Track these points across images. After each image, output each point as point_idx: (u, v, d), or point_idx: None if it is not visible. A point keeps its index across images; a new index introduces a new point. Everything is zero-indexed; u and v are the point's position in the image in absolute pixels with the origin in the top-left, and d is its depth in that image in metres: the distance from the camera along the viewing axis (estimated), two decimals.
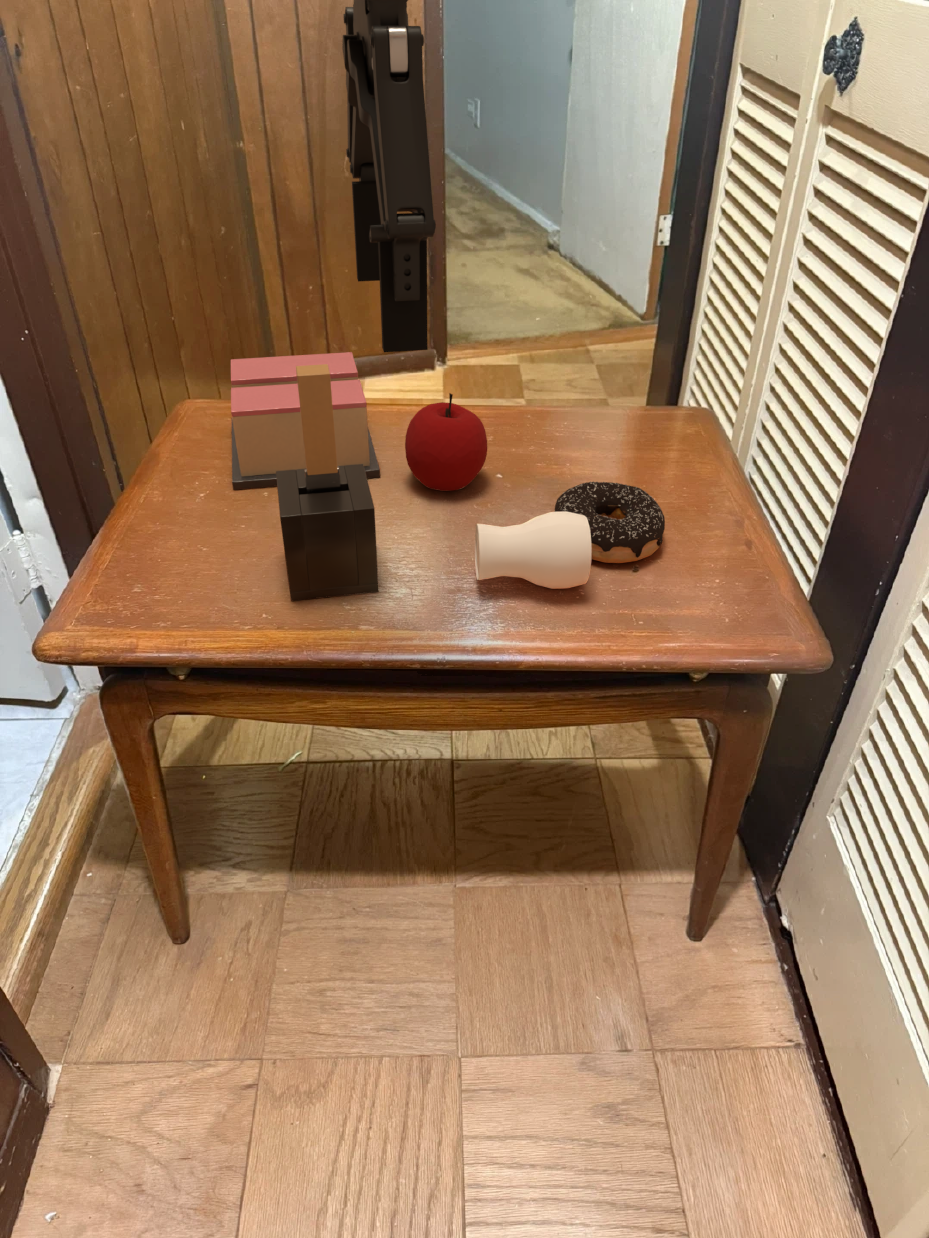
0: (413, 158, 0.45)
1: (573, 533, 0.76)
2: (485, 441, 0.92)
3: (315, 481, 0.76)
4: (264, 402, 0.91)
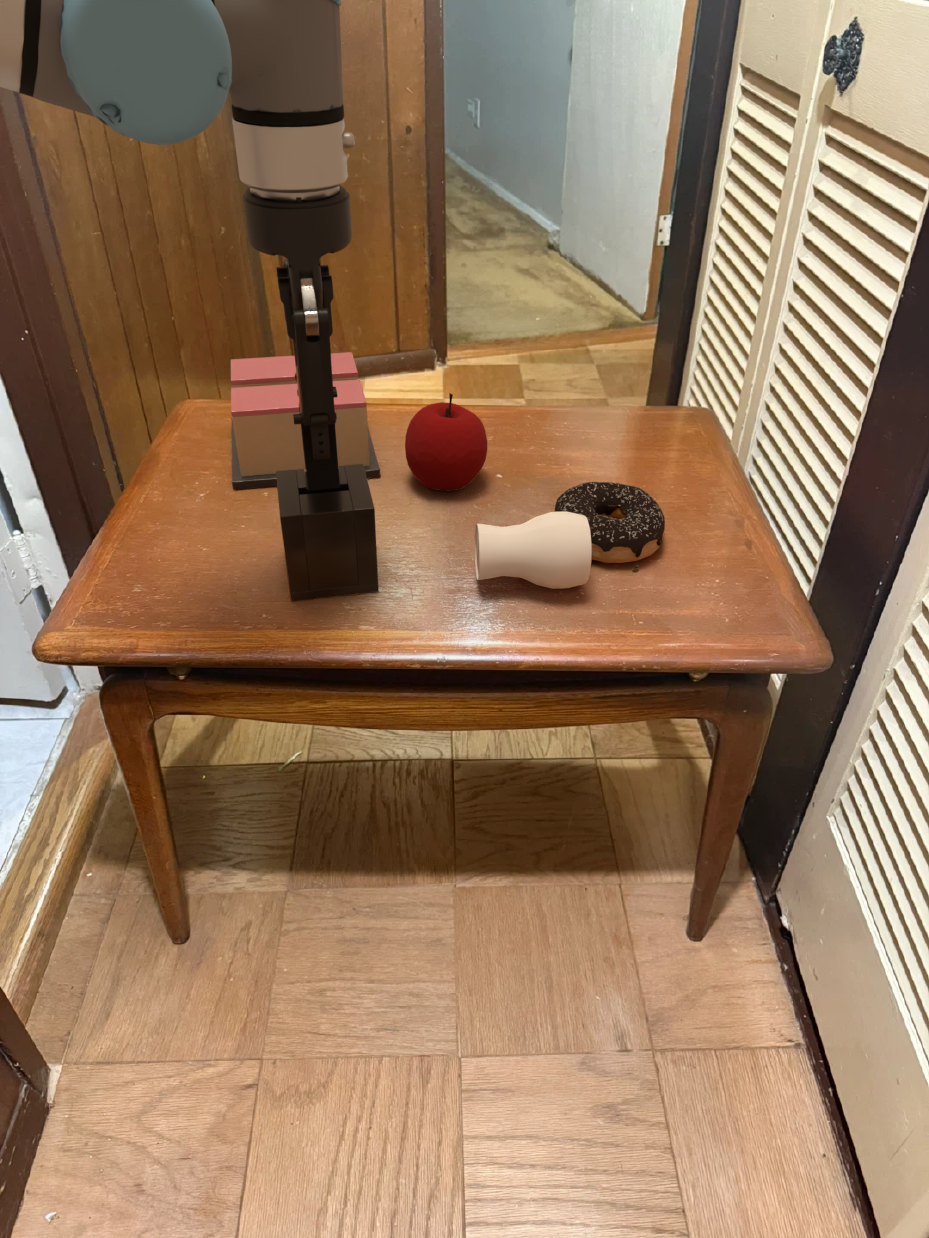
0: (322, 385, 0.65)
1: (573, 533, 0.76)
2: (485, 441, 0.92)
3: None
4: (264, 402, 0.91)
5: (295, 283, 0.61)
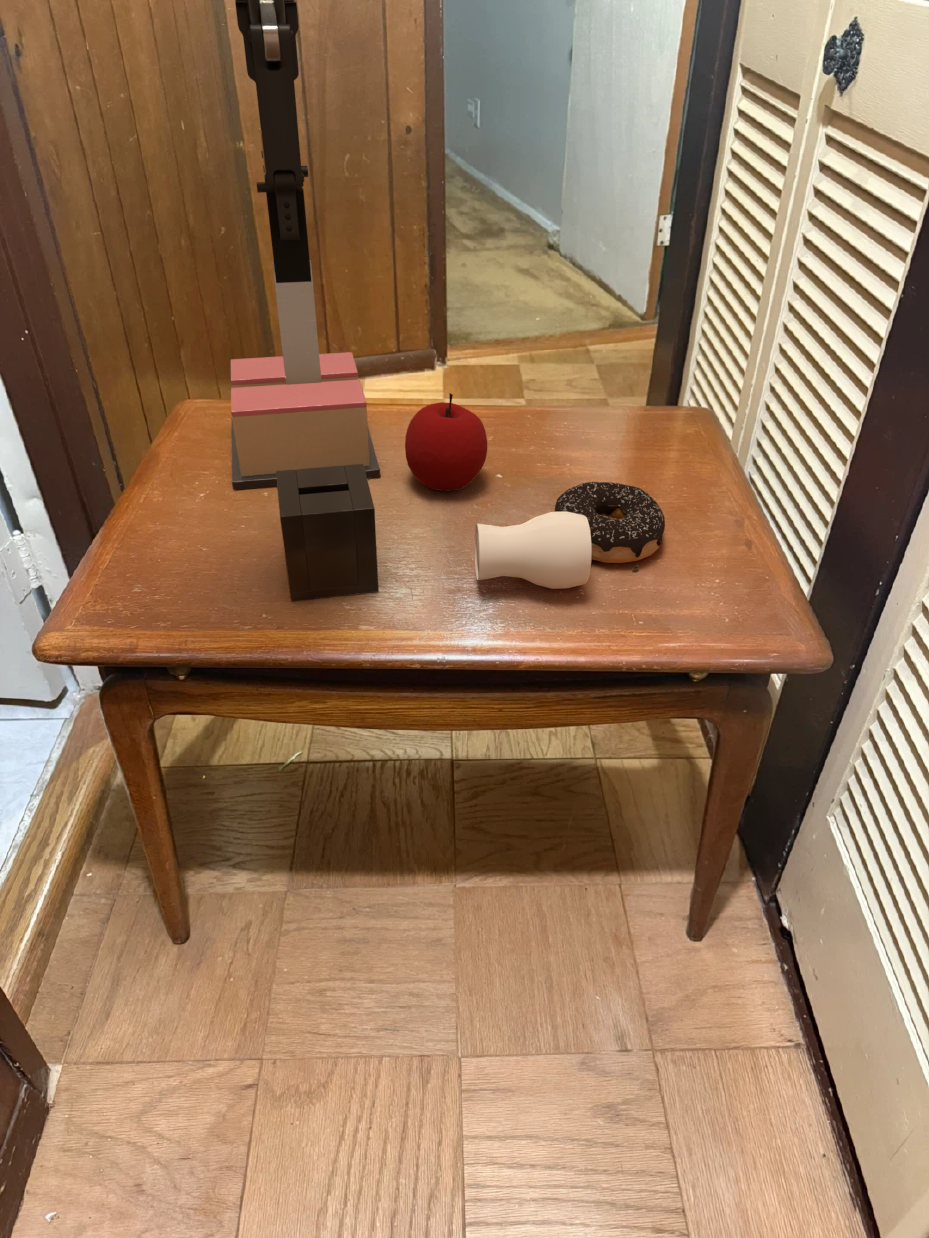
0: (286, 132, 0.58)
1: (573, 533, 0.76)
2: (485, 441, 0.92)
3: None
4: (264, 402, 0.91)
5: None
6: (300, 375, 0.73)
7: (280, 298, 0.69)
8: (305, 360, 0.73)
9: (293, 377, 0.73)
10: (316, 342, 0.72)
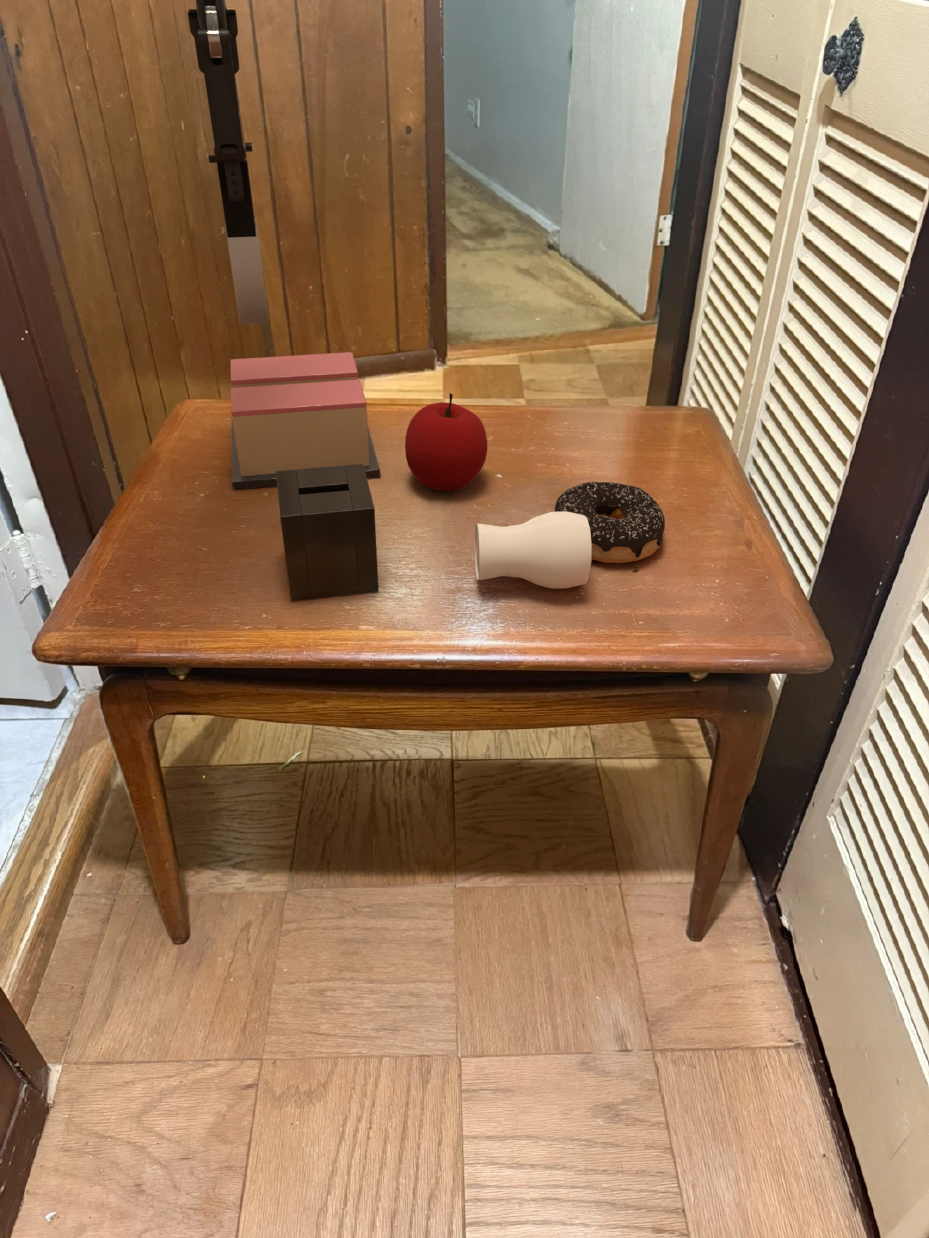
0: (229, 113, 0.74)
1: (573, 533, 0.76)
2: (485, 441, 0.92)
3: None
4: (264, 402, 0.91)
5: (200, 8, 0.70)
6: (251, 316, 0.89)
7: (232, 251, 0.85)
8: (254, 303, 0.89)
9: (245, 318, 0.89)
10: (263, 288, 0.88)
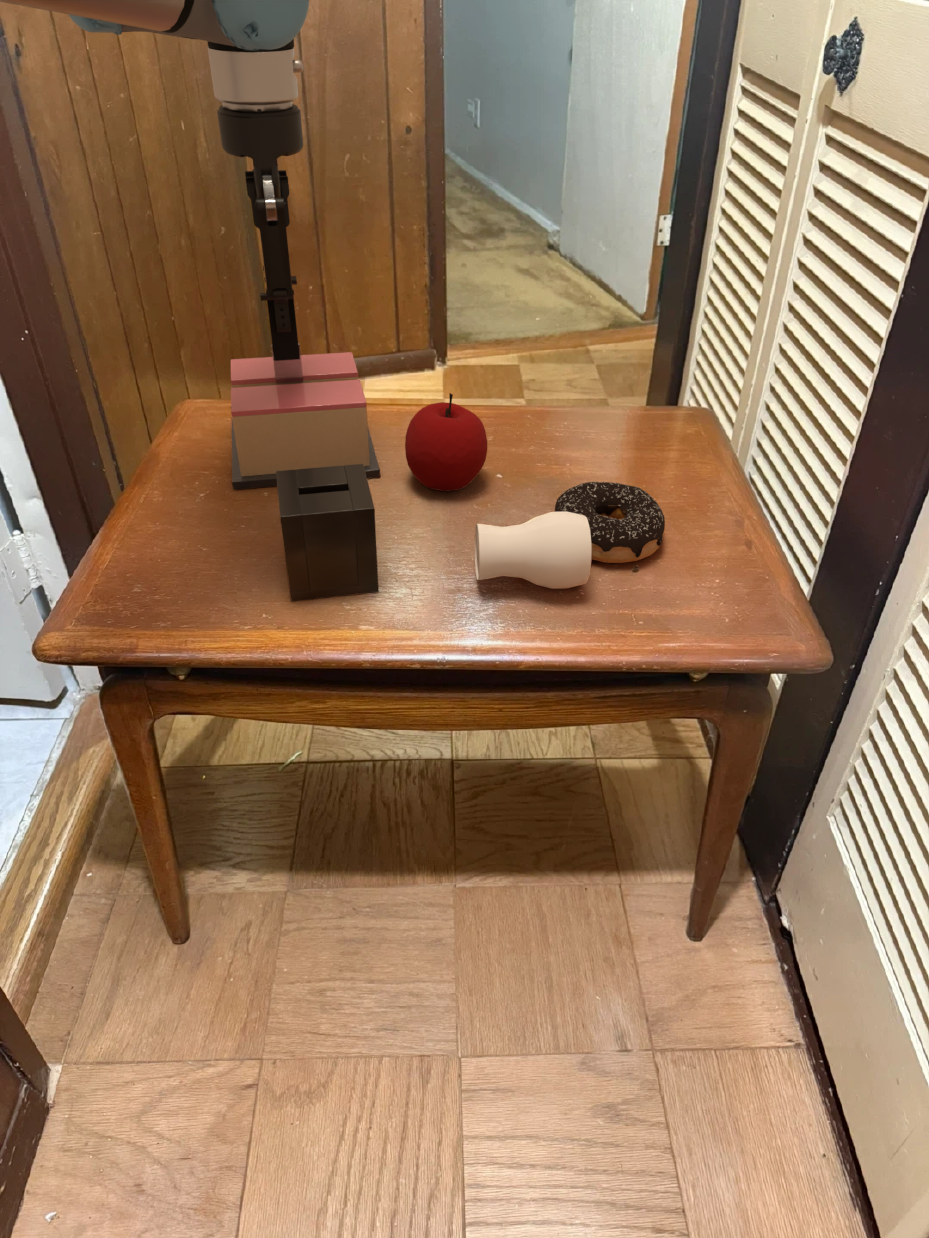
0: (281, 264, 0.83)
1: (573, 533, 0.76)
2: (485, 441, 0.92)
3: None
4: (264, 402, 0.91)
5: (258, 178, 0.79)
6: None
7: (277, 370, 0.94)
8: None
9: None
10: None
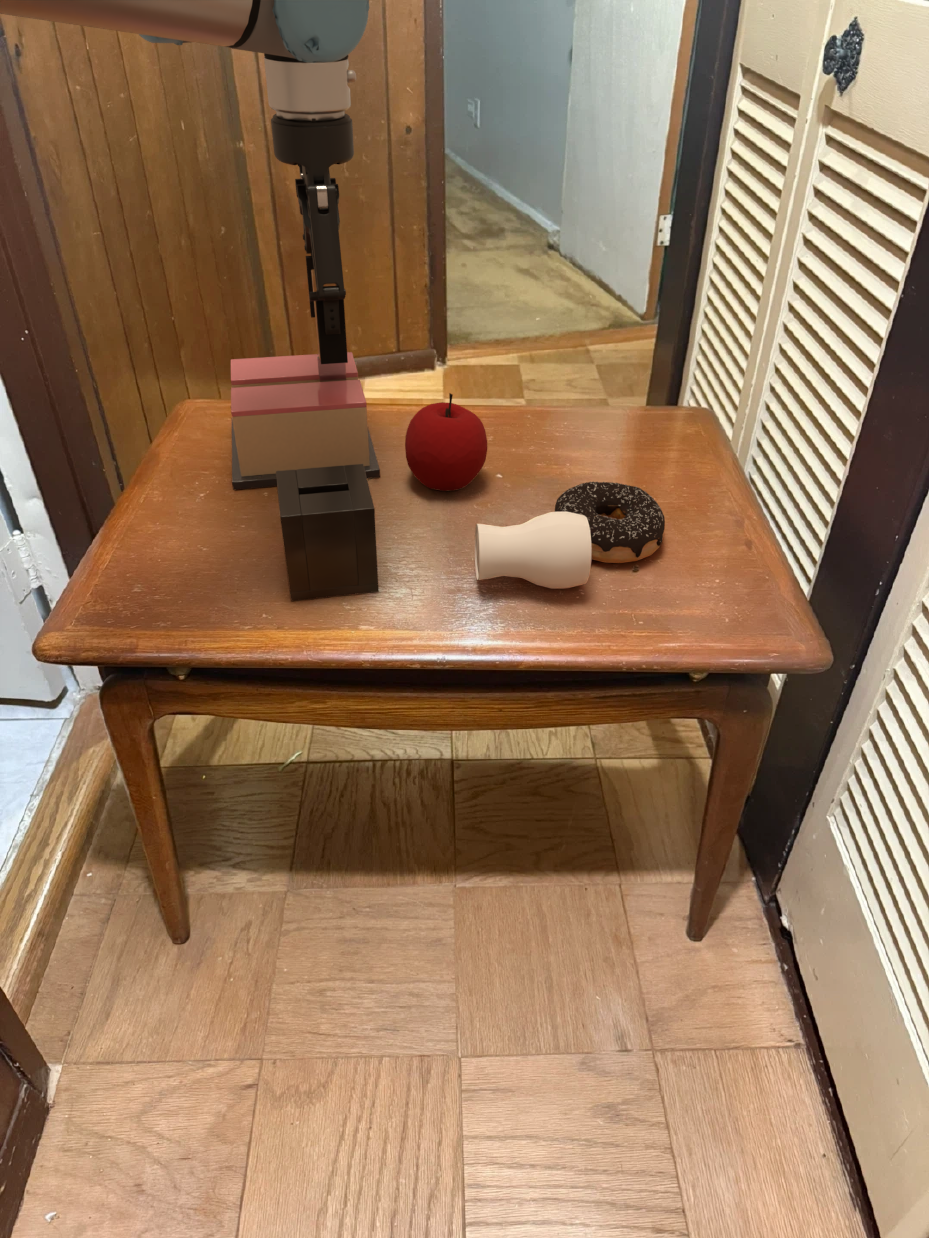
0: (332, 255, 0.80)
1: (573, 533, 0.76)
2: (485, 441, 0.92)
3: (326, 366, 0.95)
4: (264, 402, 0.91)
5: (310, 179, 0.80)
6: None
7: (322, 381, 0.96)
8: None
9: None
10: None
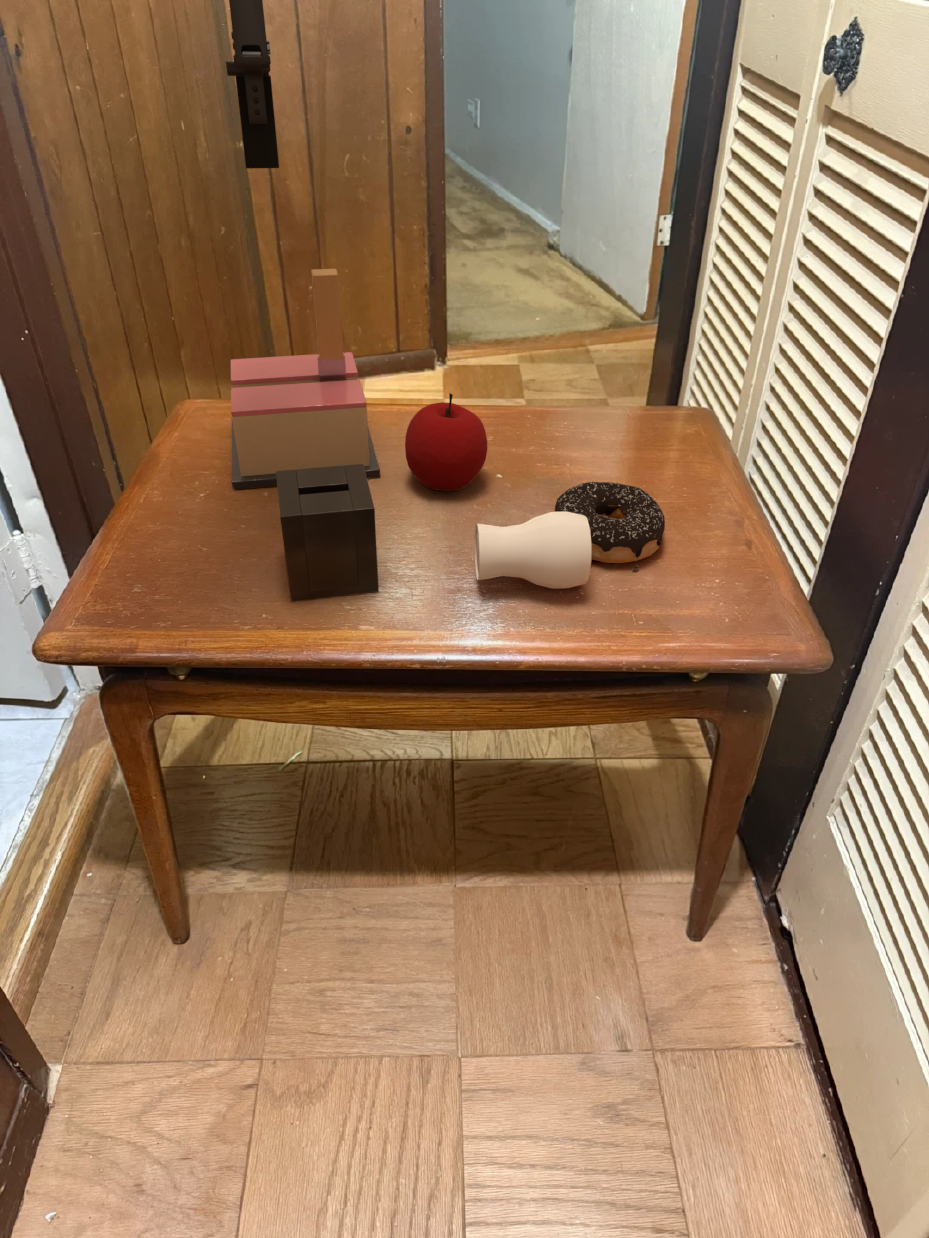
0: (252, 9, 0.64)
1: (573, 533, 0.76)
2: (485, 441, 0.92)
3: (326, 366, 0.95)
4: (264, 402, 0.91)
5: None
6: None
7: (322, 381, 0.96)
8: None
9: None
10: None
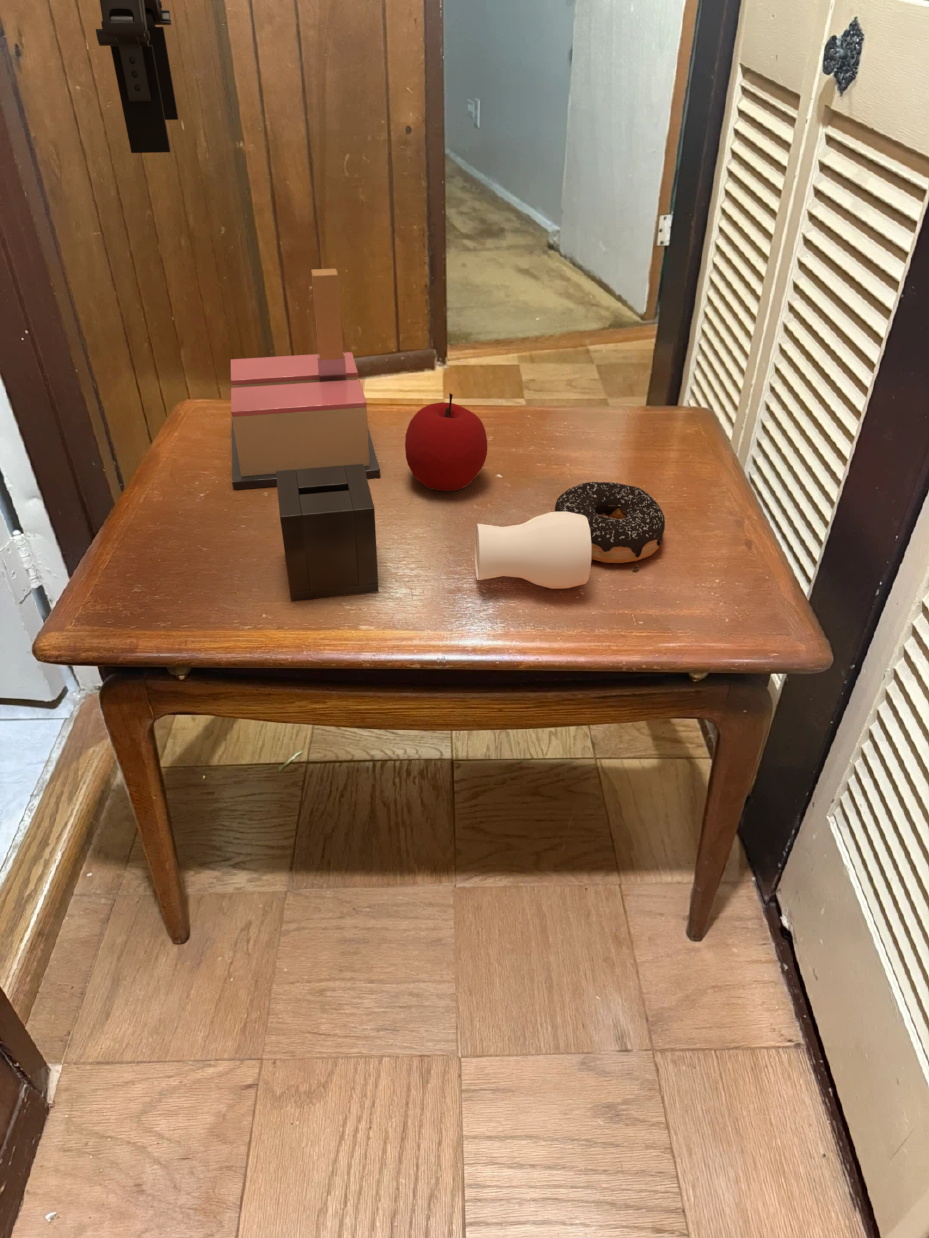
0: None
1: (573, 533, 0.76)
2: (485, 441, 0.92)
3: (326, 366, 0.95)
4: (264, 402, 0.91)
5: None
6: None
7: (322, 381, 0.96)
8: None
9: None
10: None
